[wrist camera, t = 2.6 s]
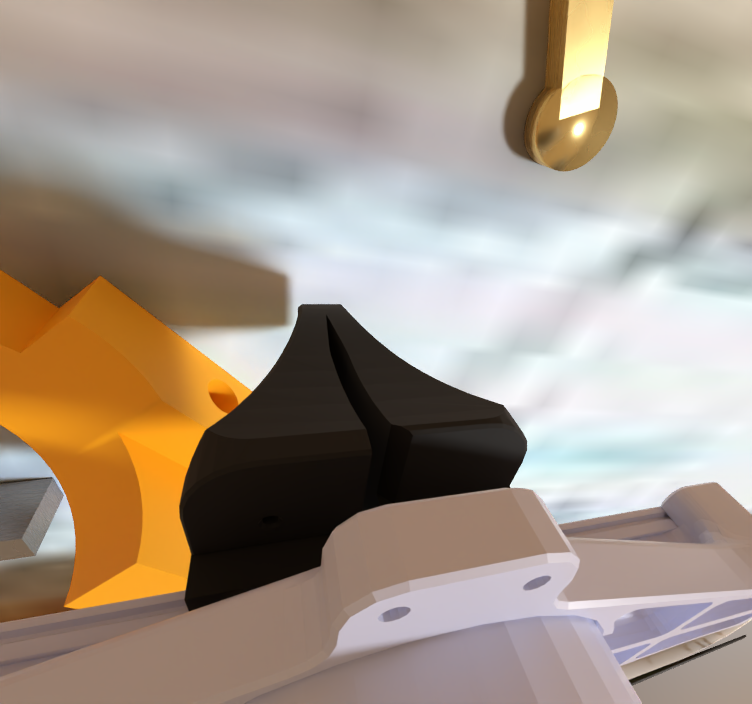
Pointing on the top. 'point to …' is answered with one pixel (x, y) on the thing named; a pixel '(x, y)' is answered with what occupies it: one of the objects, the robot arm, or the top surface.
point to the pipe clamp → (111, 428)
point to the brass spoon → (573, 87)
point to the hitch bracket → (26, 515)
